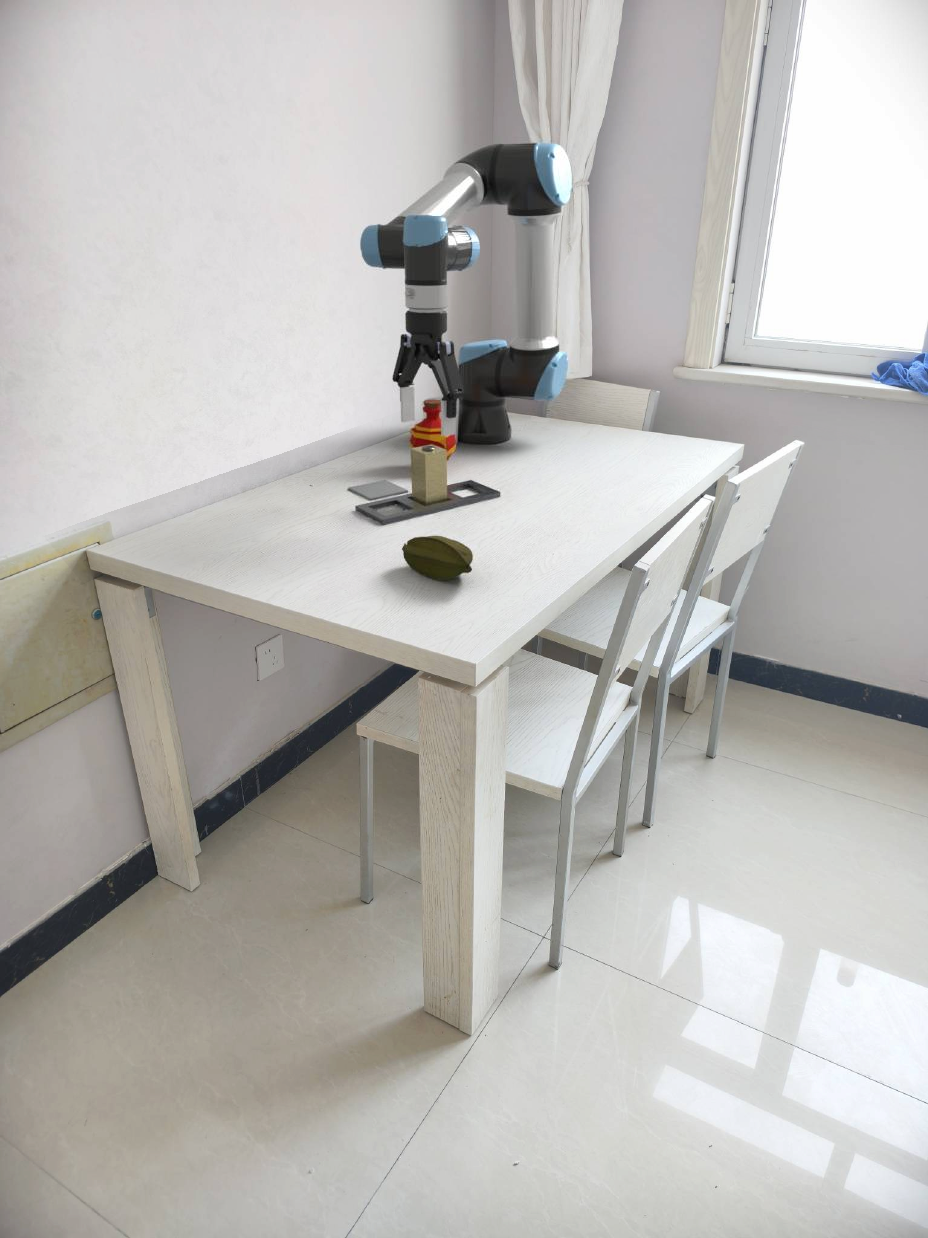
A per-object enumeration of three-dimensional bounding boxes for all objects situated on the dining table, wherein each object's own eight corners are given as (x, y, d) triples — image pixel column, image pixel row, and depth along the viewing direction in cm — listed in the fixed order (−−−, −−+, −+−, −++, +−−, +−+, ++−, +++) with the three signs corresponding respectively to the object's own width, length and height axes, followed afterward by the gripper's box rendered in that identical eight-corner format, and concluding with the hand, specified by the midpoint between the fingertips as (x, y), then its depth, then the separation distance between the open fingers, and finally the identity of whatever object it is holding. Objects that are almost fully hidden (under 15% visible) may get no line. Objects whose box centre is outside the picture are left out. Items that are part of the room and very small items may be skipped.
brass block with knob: (412, 502, 169) (410, 446, 164) (432, 497, 172) (431, 442, 167) (426, 509, 166) (425, 452, 161) (447, 504, 168) (446, 448, 163)
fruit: (471, 561, 142) (472, 524, 140) (472, 591, 132) (473, 551, 129) (403, 561, 142) (402, 524, 139) (399, 591, 132) (397, 551, 129)
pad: (348, 489, 177) (348, 487, 177) (385, 481, 182) (385, 479, 181) (370, 500, 170) (370, 498, 170) (408, 492, 175) (408, 490, 175)
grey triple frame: (355, 510, 165) (355, 505, 164) (470, 484, 180) (470, 479, 179) (382, 525, 158) (382, 519, 157) (500, 496, 173) (500, 491, 172)
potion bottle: (458, 463, 194) (458, 396, 187) (453, 476, 185) (453, 407, 178) (413, 461, 195) (411, 395, 188) (406, 475, 186) (404, 406, 179)
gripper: (372, 304, 159) (376, 418, 169) (449, 317, 141) (449, 444, 151) (405, 302, 163) (408, 413, 173) (485, 315, 145) (483, 438, 155)
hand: (427, 427), depth 162 cm, fingers open, 13 cm apart
